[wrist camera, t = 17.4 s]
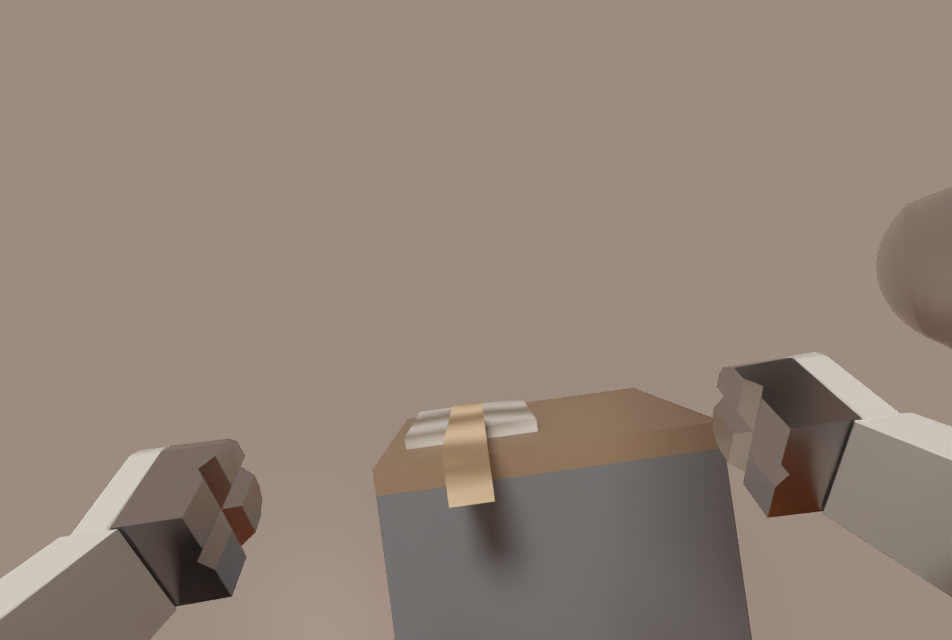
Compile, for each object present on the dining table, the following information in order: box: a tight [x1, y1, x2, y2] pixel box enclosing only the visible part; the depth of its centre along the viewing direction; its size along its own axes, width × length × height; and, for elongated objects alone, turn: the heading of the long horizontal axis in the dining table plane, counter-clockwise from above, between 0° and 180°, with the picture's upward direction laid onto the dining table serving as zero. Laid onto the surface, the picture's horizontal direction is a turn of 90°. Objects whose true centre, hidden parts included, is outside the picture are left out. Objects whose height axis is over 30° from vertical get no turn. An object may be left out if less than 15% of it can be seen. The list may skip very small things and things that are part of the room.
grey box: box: [373, 388, 752, 640], centre depth 37 cm, size 21×16×26 cm
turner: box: [405, 398, 538, 508], centre depth 32 cm, size 22×9×2 cm, turn 1°
